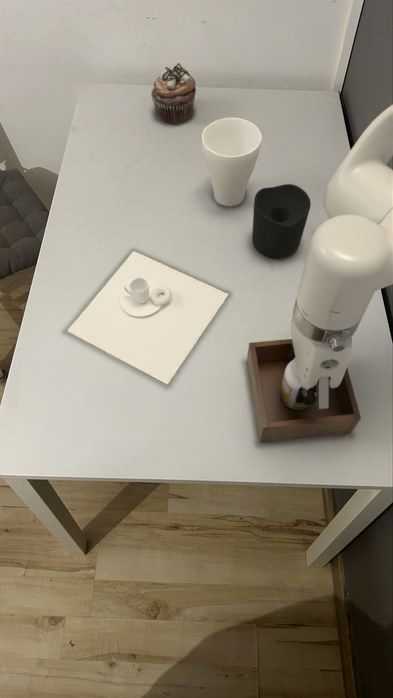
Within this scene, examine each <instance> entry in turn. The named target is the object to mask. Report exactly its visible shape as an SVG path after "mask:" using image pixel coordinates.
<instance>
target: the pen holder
mask: <svg viewBox="0 0 393 698" xmlns="http://www.w3.org/2000/svg"><path fill="white" fill-rule="evenodd" d="M310 210H311V198H310V196H309V194H308V193H307V192H306V191H305V189H303V188H301V187H300V186H298V185H295V184H292V183H287V184H285V183H284V184H281V185H276V186H270V187H263V188H261V189H259V190H258V191H257V192H256V193H255V196H254V198H253V214H252V215H253V216H252V237H251V239H252V245H253V248H254V250H255V251H256V252H257V253H258V254H260V255H261V256H263V257H265V258H267V259H270V260H283V259H284V260H285V259H287V258H289V257H292V256H293V255H294V254H295V253H296V252H297V251H298V249H299V247H300V244H301V241H302V238H303V234H304V231H305V227H306V224H307V220H308V217H309V213H310Z"/></svg>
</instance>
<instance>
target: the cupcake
mask: <svg viewBox="0 0 393 698" xmlns="http://www.w3.org/2000/svg"><path fill="white" fill-rule="evenodd" d="M196 93H197V88H196V81H195V79H194V78H193V76H192V75H191V74H190V73H189V71H188V70H187V69H185V68H184V67H183V66H182V64H181V63H180V62H177V63H175V65H174V66H173V68H172V69H171V68H170V67H167V66H165V69H164V71H163V70H162V72H161V73H160V74H159V76H158V77H157V78H156V79H155V80H154V82H153V88H152V89H151V92H150V96H151V100H152V102H153V106H154V109H155V113H156V115H157V119H159V120H160V121H161V122H163V123H165V124H169V125H177V124H182V123H183V122H186V121H187V120H189V119H190V118H191V117H192V115H193V109H194V103H195V98H196Z"/></svg>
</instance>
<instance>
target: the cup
mask: <svg viewBox="0 0 393 698" xmlns="http://www.w3.org/2000/svg"><path fill="white" fill-rule="evenodd" d="M262 140H263V136H262V133H261V130H260V129H259V128H258V126H257V125H256V124H254V123H253V122H252V121H249V120H246V119H243V118H241V117H224V118H219V119H216V120H215V121H213V122H211V123H209V124H208V125H207V126H206V127H205V128H204V129H203V131H202V134H201V145H202V146H201V147H202V154H203V157H204V162H205V165H206V168H207V171H208V174H209V177H210V181H211V184H212V185H211V186H212V189H213V197H214V200H215V201H216V203H218V204H219V205H222V206H225V207H235V206H237V205H240V204H241V203H242V202H243V201H244V200H245V197H246V191H247V187H248V185H249V181H250V179H251V177H252V175H253V172H254V170H255V167H256V164H257V161H258V158H259V154H260V152H261V151H260V150H261V146H262Z"/></svg>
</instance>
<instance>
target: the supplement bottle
mask: <svg viewBox="0 0 393 698" xmlns="http://www.w3.org/2000/svg"><path fill="white" fill-rule="evenodd" d="M300 387H302V383H301V379H300V375H299V371H298V366H297V361H296V357H295V358H294V360H292V361H291V362H290V363H289V364H288V365H287V367H286V369H285V373H284V376H283V380H282V384H281V387H280V397H281V400H282V401H283V403H284V404H285V405H286V406H288V407H289V408H292V409H295V410H302V409H306V408H308V407H309V406H310V405H304V403H296V396H297V393H298V391H299V388H300Z"/></svg>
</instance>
